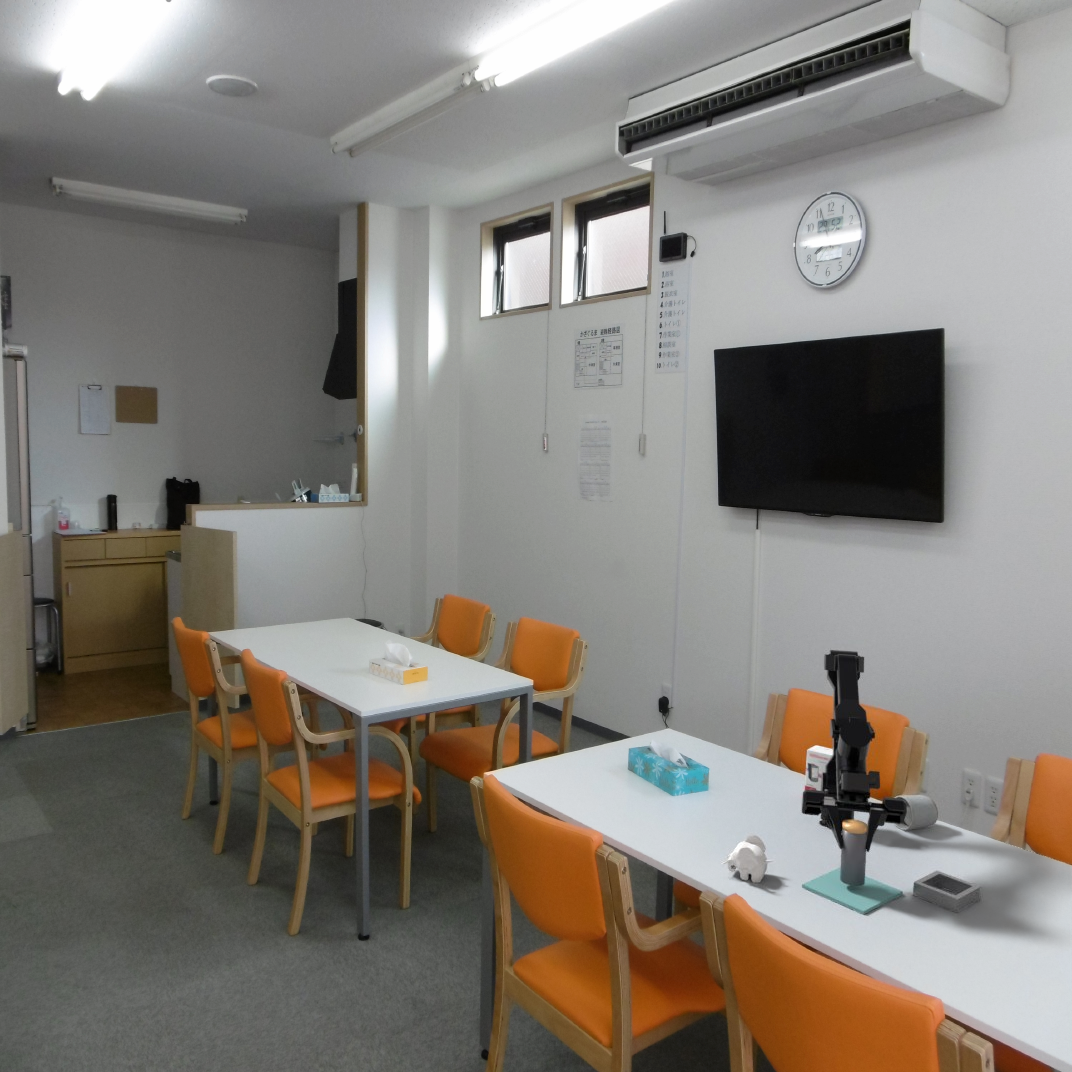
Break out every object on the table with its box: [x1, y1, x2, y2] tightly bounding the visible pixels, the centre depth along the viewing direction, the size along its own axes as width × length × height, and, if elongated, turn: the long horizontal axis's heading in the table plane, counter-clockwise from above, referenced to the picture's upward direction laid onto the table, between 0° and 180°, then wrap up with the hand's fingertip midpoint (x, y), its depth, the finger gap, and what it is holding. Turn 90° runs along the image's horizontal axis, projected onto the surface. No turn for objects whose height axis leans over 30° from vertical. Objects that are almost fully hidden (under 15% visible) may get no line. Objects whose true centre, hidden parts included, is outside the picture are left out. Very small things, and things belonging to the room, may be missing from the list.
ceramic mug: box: [893, 794, 939, 831], centre depth 203 cm, size 10×8×7 cm
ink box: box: [804, 745, 833, 791], centre depth 219 cm, size 9×5×12 cm, turn 50°
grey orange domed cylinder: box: [840, 819, 868, 886], centre depth 170 cm, size 4×4×11 cm
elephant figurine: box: [721, 834, 773, 884], centre depth 176 cm, size 8×10×7 cm
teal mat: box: [801, 866, 904, 915], centre depth 171 cm, size 13×13×1 cm
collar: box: [912, 870, 981, 914], centre depth 169 cm, size 8×8×2 cm
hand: (854, 849), depth 169 cm, fingers closed on grey orange domed cylinder, 4 cm apart
